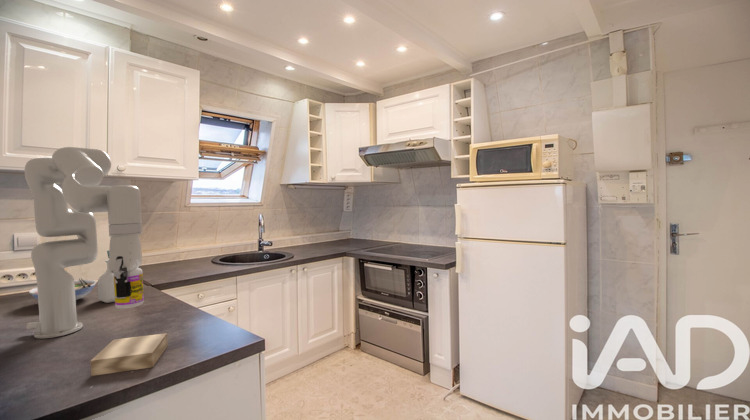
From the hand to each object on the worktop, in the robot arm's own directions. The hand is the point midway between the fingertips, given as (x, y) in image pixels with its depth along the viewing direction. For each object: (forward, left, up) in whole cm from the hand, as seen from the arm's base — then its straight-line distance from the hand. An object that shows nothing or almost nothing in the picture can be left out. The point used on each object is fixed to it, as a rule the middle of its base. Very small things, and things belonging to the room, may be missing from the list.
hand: (129, 292), depth 98 cm
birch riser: (0, 0, -19) cm, 19 cm away
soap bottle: (-31, +71, -19) cm, 80 cm away
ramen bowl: (-51, +75, -19) cm, 93 cm away
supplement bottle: (0, 0, -4) cm, 4 cm away
